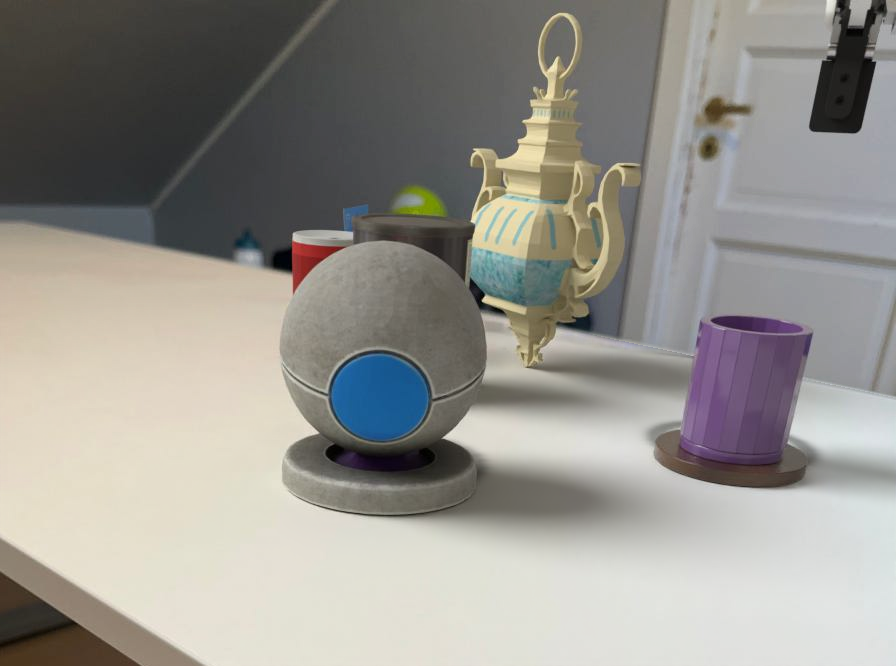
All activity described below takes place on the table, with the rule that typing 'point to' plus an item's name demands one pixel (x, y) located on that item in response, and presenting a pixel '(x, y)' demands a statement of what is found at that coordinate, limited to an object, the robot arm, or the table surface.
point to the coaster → (729, 465)
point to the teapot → (546, 218)
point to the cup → (744, 388)
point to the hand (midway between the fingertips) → (835, 131)
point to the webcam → (382, 380)
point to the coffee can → (421, 235)
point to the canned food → (315, 250)
